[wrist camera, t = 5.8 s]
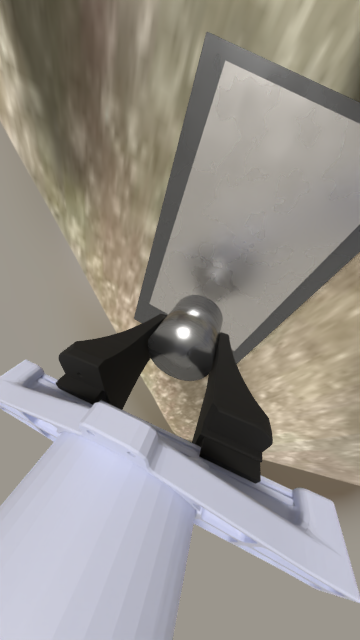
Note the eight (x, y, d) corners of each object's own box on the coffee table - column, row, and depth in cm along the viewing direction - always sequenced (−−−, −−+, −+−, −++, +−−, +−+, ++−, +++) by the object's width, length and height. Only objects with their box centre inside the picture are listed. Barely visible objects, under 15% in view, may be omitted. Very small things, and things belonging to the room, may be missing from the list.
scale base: (447, 158, 10) (474, 151, 9) (228, 365, 25) (227, 373, 24) (210, 47, 10) (205, 26, 9) (138, 314, 26) (132, 319, 24)
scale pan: (418, 158, 9) (427, 155, 9) (234, 347, 20) (234, 351, 20) (226, 67, 10) (225, 60, 9) (151, 301, 21) (149, 303, 20)
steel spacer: (226, 299, 13) (217, 338, 9) (218, 342, 15) (208, 388, 11) (174, 291, 14) (144, 321, 10) (174, 332, 16) (150, 370, 12)
